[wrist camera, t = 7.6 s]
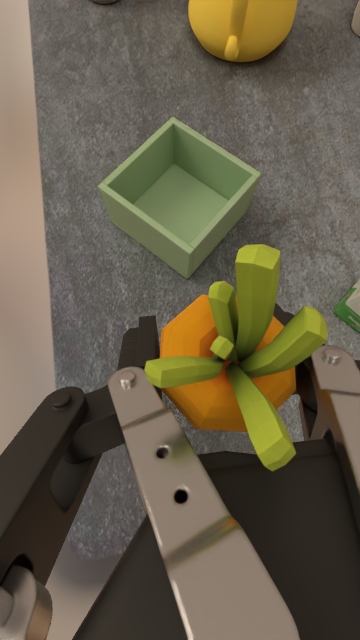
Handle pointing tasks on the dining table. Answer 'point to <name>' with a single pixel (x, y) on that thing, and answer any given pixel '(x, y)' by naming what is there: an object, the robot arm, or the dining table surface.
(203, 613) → the robot arm
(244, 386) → the carrot
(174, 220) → the bin
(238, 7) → the teapot
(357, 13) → the coffee cup
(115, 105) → the dining table surface
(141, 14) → the dining table surface
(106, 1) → the beverage can
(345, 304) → the ink box
